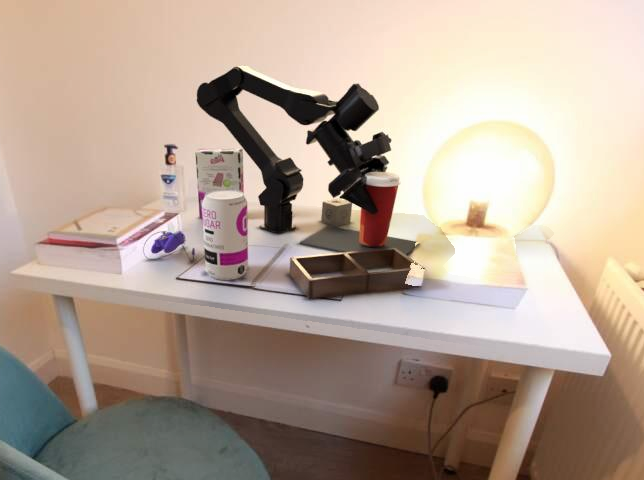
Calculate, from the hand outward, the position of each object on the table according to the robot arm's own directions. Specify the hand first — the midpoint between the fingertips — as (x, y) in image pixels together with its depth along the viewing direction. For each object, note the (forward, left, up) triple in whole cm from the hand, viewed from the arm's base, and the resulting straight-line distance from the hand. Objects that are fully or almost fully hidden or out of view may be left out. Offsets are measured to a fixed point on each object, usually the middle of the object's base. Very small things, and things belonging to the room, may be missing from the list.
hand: (383, 208), depth 102 cm
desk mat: (-4, -1, -8) cm, 9 cm away
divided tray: (+8, -18, -8) cm, 21 cm away
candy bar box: (-41, -11, -9) cm, 43 cm away
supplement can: (-10, -33, -9) cm, 36 cm away
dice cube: (-18, +7, -9) cm, 21 cm away
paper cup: (-1, 0, -8) cm, 8 cm away
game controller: (-24, -36, -9) cm, 44 cm away
